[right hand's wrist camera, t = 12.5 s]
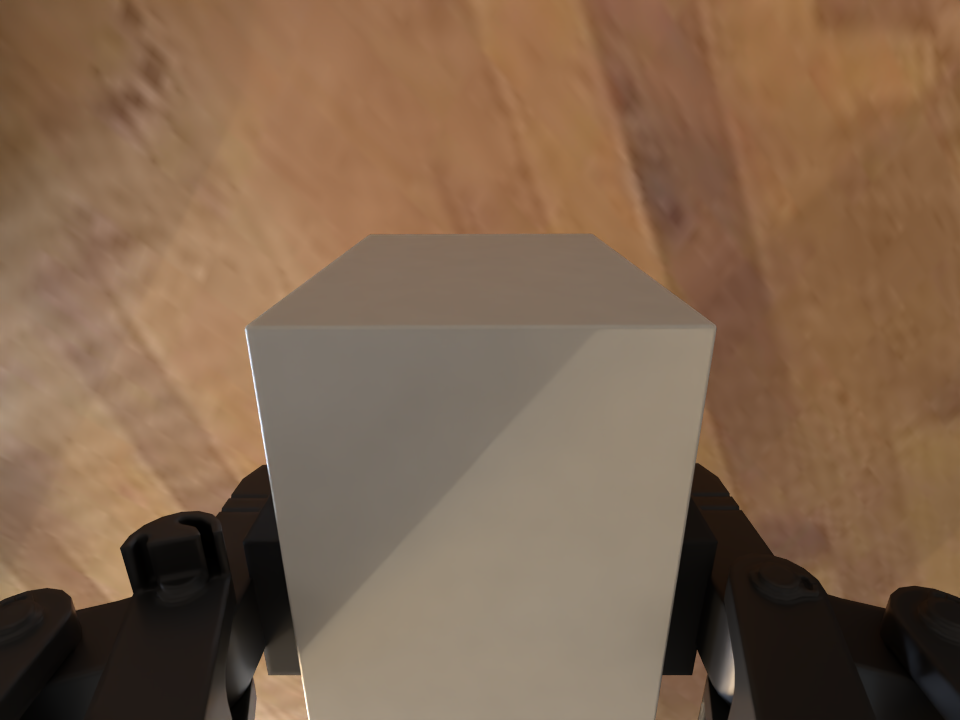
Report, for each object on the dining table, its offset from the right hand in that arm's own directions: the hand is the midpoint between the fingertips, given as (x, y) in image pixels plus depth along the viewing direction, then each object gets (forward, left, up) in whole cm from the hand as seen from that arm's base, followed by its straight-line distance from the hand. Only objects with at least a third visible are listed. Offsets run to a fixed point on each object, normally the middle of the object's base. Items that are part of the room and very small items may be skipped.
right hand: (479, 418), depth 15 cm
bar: (-3, -31, 0) cm, 32 cm away
